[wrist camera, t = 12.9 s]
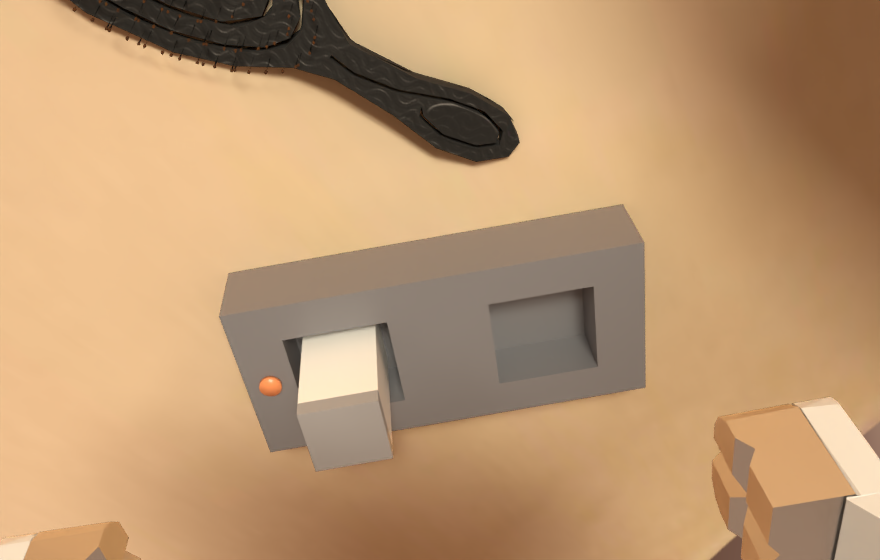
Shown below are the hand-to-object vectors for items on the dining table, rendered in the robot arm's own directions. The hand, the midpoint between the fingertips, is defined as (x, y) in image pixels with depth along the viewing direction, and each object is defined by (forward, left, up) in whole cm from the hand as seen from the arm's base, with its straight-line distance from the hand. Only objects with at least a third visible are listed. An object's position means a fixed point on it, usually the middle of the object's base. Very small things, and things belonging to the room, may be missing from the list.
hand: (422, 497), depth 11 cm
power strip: (0, +20, -31) cm, 37 cm away
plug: (+5, +20, -30) cm, 37 cm away
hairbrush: (+4, +2, -32) cm, 32 cm away
